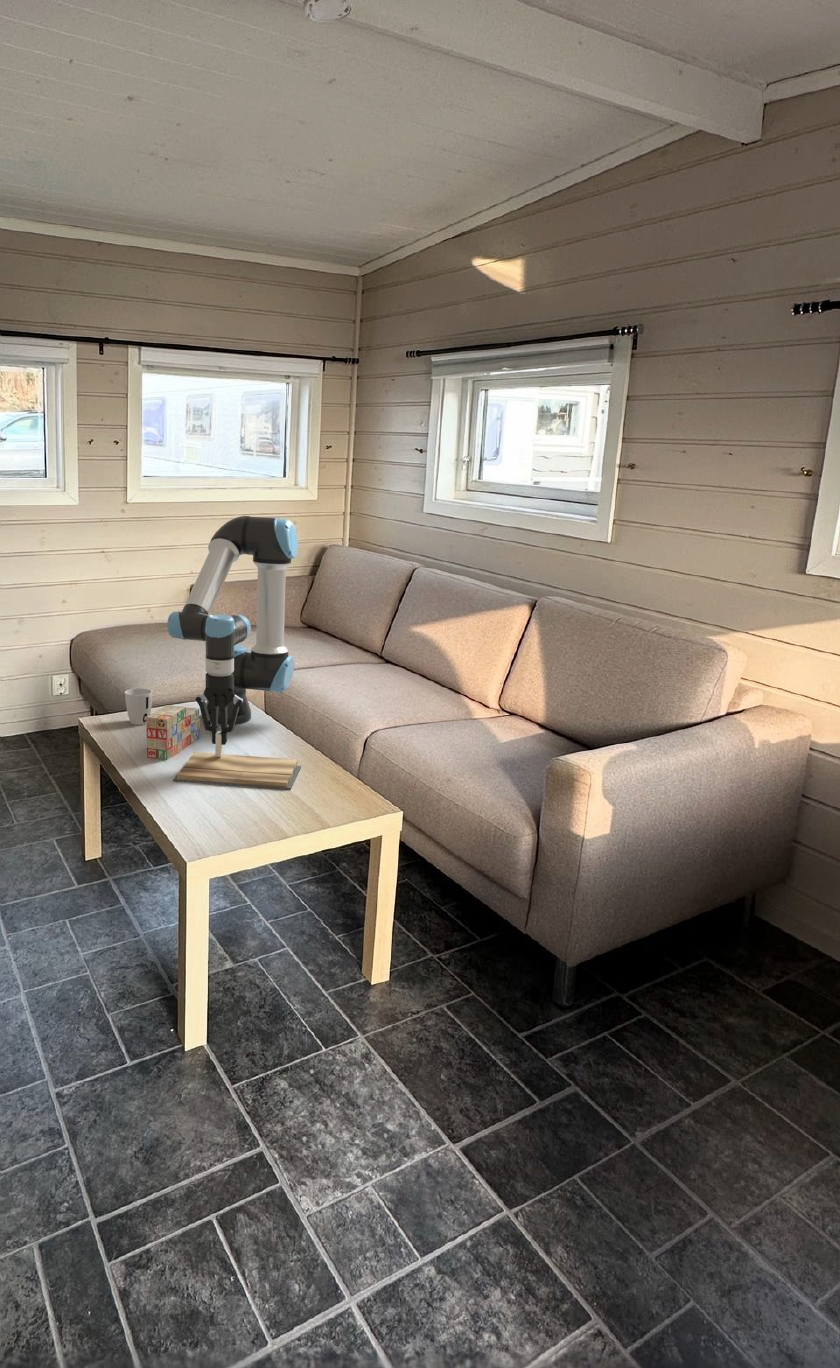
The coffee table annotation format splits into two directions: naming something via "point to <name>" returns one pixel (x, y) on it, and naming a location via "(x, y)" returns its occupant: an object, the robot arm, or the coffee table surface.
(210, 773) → the laid plank
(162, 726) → the stack of blocks
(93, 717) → the coffee table surface
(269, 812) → the coffee table surface
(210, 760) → the board
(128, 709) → the cup
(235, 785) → the underlay
